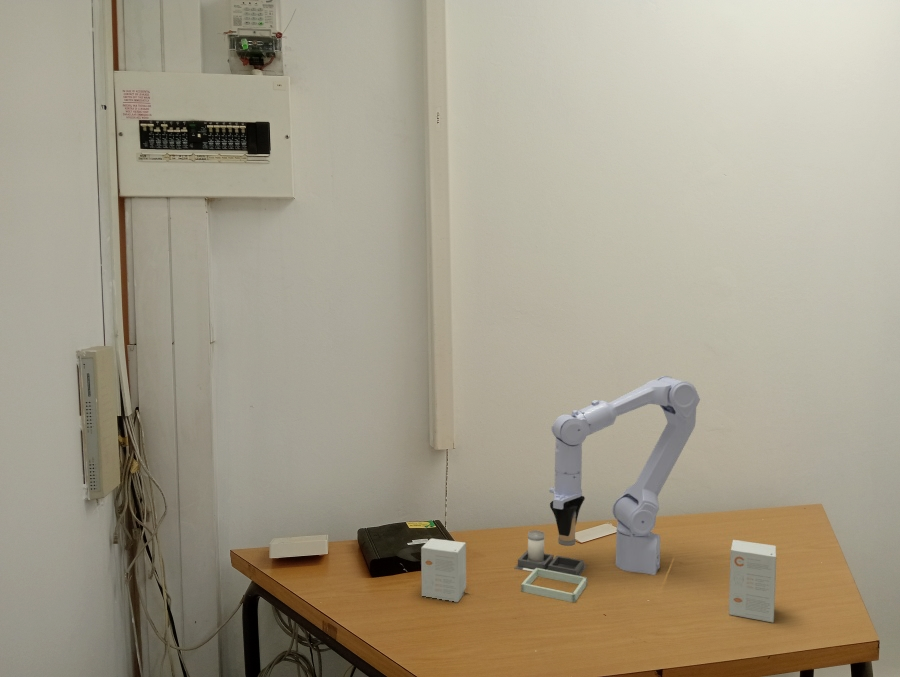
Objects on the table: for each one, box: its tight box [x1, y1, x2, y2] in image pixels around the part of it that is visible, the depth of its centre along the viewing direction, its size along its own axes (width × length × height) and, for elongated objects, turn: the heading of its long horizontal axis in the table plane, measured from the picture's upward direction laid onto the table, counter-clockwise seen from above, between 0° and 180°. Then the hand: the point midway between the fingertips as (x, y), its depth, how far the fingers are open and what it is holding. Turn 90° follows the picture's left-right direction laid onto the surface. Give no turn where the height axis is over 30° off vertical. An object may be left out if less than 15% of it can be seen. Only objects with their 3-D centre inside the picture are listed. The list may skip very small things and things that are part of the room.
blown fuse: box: [557, 511, 577, 547], centre depth 154 cm, size 4×4×7 cm
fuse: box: [527, 530, 546, 563], centre depth 157 cm, size 4×4×7 cm
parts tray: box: [520, 568, 588, 603], centre depth 145 cm, size 11×9×2 cm
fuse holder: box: [513, 549, 588, 576], centre depth 156 cm, size 14×9×2 cm, turn 64°
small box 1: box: [420, 537, 467, 603], centre depth 144 cm, size 8×6×10 cm
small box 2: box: [728, 539, 777, 624], centre depth 137 cm, size 8×6×13 cm
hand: (566, 531), depth 154 cm, fingers closed on blown fuse, 4 cm apart
